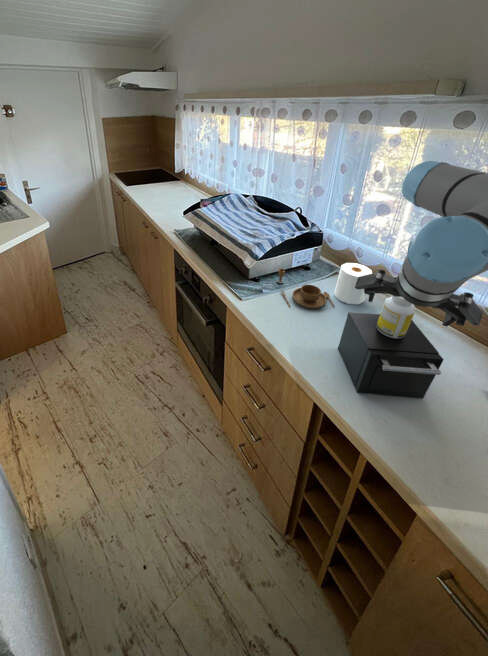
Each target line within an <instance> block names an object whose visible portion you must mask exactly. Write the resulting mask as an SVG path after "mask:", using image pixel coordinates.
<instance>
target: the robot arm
mask: <svg viewBox="0 0 488 656" xmlns="http://www.w3.org/2000/svg"><path fill="white" fill-rule="evenodd" d="M401 193H402V196H403V198H404V199H405V200H406V201H408V202H409V203H411V204H413V205H414V206H415V207H417V208H422V209H424V210H426V211H428V212H430V213H433V214H435V215H437V216H440V217H438V218H437V217H436V218H434V219H432V220H430V221H428V222H426V223H425V224H424V225H422V226H421V227H420V228H419V230H418V231H417V232H416V234H414V237H412V239H411V240H410V242H409V244H408V247H407V252H406V253H407V254H406V256H405V258H404V261H403V263H402V265H401V267H400V270H399V272H398V274H397V275H395V276H389V275H388V273H386V272H387V271H385V270H384V269H377V271H376V272H372V274H368V275H364V276H360V277H358V279H357V282H356V285H355V288H356V289H364V293H365V294H366V295H368V300H367V301H368V302H369V303H373V301H374V297H375V294H381V295H391V296H392V295H393V296H395V297H403V298H404V299H405V300H406V301H408V302H410V303H412V304H413V305H414V306H418V307H421V308H422V307H423V308H428V307H429V308H433V309H437V310H441V311H442V312H444V313H445V315H444V317H443V321H442V323H441V325H442V326H443V327H448V326H450V325H452V324H453V323H455V325H457V326H461V327H464V326H465V323H466V321H468V322H469V324H471V325H473V326H480V323H481V321H482V318H483V315H484V312H483V310H482V309H481V308H480V307H479V306H478V304H477V303H476V301H475V300H474V299H473V298H474V294H473V293H471V292H469V291H468V292H463V293H458V294H456V292H457V291H458V290H459V288H461V287H462V286H463V285H464V284H465V283H466V282H468V281H469V280H471V279H473V278H475V277H477V276H479V275H481V274H483V273H486V272H488V172H485V171H480V170H475V169H470V168H466V167H461V166H457V165H454V164H450V163H448V162H446V161H445V162H444V161H435V160H426V161H422V162H420V163H418V164H417V165H415V166H414V167H412V168H411V169H410V170H409V171H408V172H407V173H406V174H405V177H404V178H403V181H402V183H401Z"/></svg>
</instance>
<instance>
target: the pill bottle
mask: <svg viewBox="0 0 488 656" xmlns="http://www.w3.org/2000/svg"><path fill="white" fill-rule="evenodd" d="M415 313H416V305H414V304H412V303H410V302H408V301H406V300H405V299H404V298H403V297H395V296H393V295H391V296H389V297H387V298H386V299H385V301H384V303H383V306H382V308H381V311H380V313H379V314H380V317H379V320H378V322H377V328H378V330H379V331H380V332H381V333H382V334H384V335H386V336H388V337H391V338H402V337H404V336H405V334H406V332H407V330H408V327H409V325H410V323H411V320H413V317H414V316H415Z"/></svg>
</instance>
